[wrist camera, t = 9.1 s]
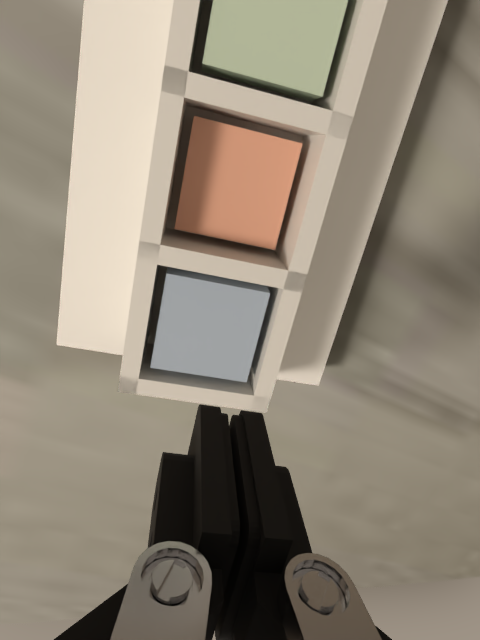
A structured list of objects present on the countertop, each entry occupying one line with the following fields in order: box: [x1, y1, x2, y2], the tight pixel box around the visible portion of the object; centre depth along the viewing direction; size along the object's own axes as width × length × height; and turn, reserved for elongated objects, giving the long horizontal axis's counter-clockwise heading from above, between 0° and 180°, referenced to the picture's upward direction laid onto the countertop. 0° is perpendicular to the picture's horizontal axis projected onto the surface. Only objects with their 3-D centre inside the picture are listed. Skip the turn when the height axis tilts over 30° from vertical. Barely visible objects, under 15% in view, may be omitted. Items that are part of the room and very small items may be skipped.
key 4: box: [150, 267, 270, 382], centre depth 19 cm, size 4×4×2 cm
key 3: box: [174, 116, 303, 250], centre depth 18 cm, size 4×4×2 cm
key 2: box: [202, 0, 348, 101], centre depth 15 cm, size 4×4×2 cm
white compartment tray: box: [57, 0, 448, 413], centre depth 18 cm, size 25×14×6 cm, turn 167°
